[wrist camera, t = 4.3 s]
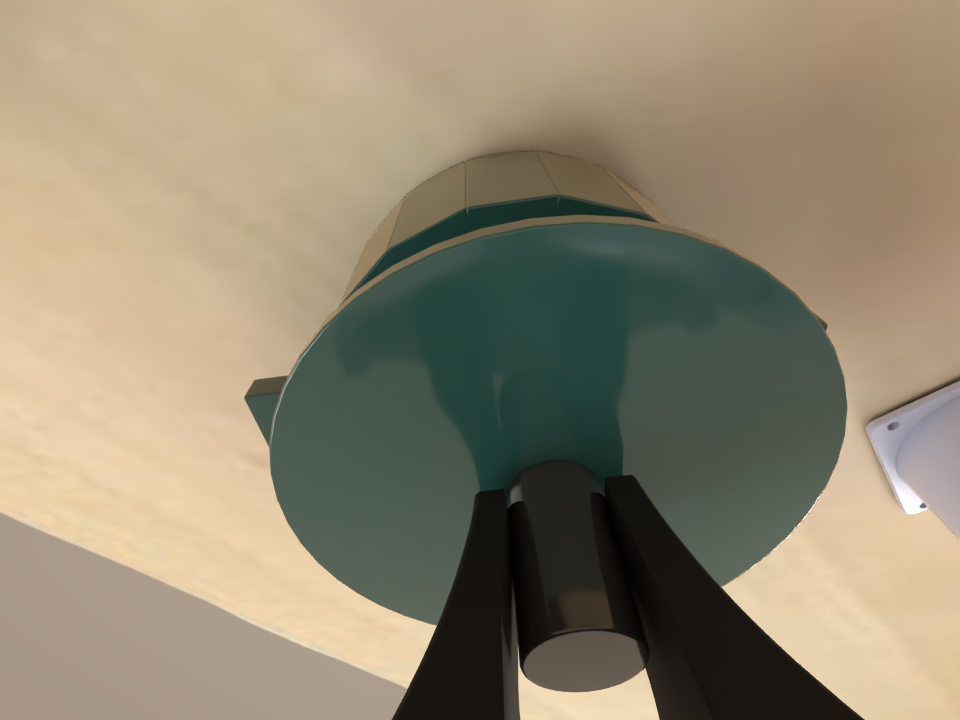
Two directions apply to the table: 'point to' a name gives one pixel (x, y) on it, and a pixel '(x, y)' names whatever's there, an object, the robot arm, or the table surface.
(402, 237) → the pan
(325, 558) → the pan lid
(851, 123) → the table surface
